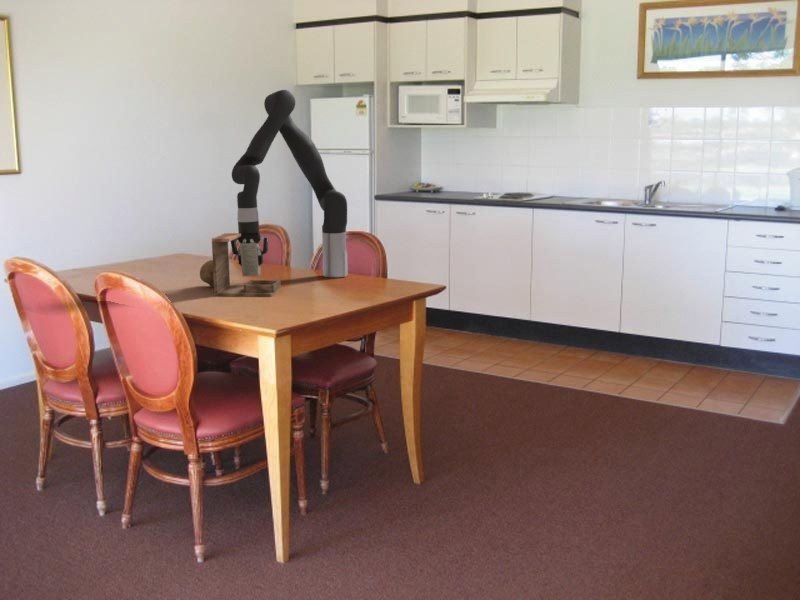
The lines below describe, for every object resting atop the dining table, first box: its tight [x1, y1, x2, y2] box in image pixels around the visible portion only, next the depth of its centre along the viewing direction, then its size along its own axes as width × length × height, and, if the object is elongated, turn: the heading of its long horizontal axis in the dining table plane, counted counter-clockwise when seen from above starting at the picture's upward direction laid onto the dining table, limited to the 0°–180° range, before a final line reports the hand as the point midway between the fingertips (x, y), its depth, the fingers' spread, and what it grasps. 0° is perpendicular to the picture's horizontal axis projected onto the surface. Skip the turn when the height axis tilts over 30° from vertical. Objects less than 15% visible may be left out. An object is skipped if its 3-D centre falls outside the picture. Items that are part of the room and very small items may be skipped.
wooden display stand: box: [211, 232, 282, 297], centre depth 312 cm, size 20×16×20 cm
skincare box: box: [239, 242, 262, 277], centre depth 325 cm, size 6×4×12 cm
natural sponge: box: [199, 259, 214, 288], centre depth 324 cm, size 9×9×10 cm
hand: (250, 265), depth 326 cm, fingers closed on skincare box, 6 cm apart
